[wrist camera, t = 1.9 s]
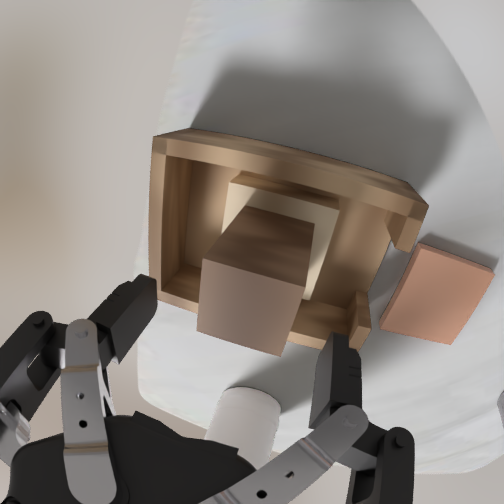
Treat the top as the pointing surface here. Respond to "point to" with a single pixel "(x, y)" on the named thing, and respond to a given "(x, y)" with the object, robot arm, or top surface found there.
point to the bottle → (246, 423)
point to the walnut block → (255, 279)
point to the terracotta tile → (435, 295)
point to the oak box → (282, 202)
